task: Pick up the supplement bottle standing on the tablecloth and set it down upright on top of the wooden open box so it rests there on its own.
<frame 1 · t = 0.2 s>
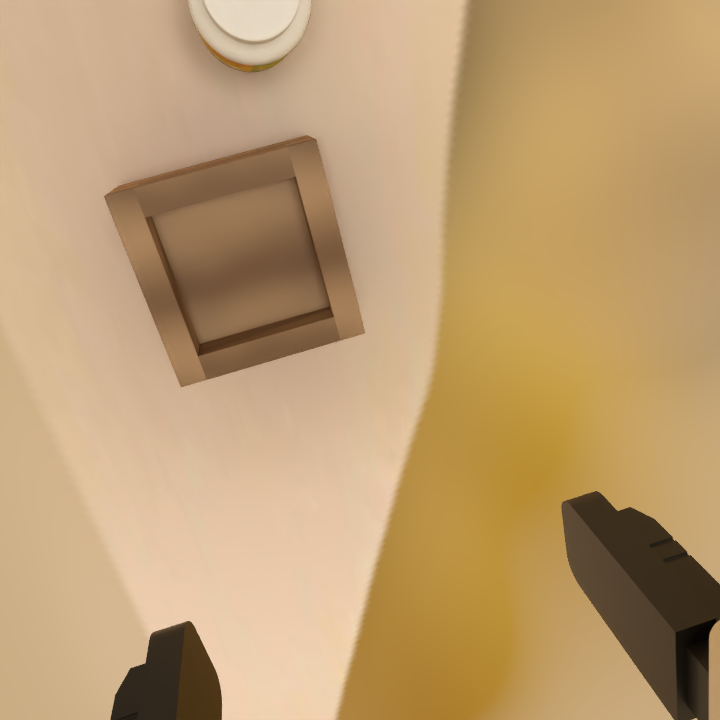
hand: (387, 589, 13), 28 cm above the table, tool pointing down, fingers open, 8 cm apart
supplement bottle: (247, 17, 33), on the table
wooden open box: (244, 252, 38), on the table
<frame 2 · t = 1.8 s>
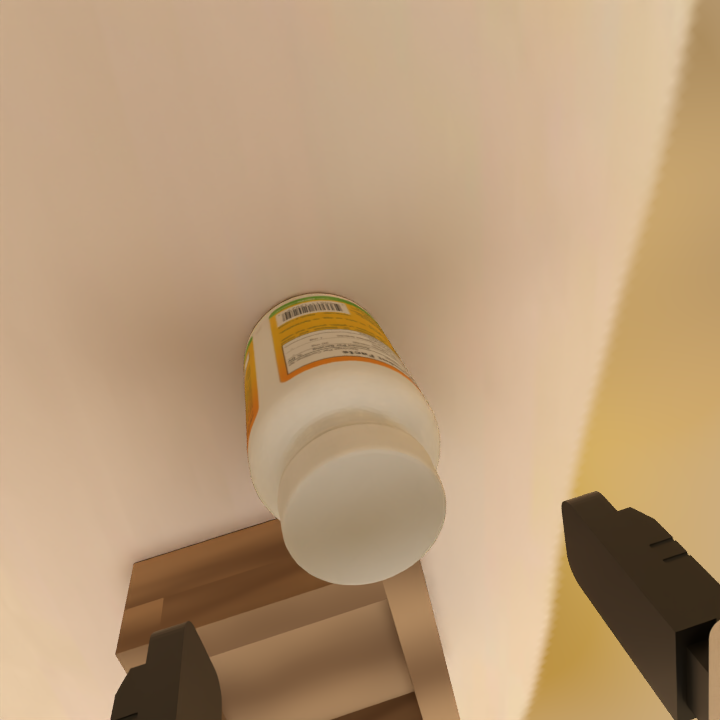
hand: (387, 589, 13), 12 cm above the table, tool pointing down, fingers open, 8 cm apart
supplement bottle: (315, 356, 23), on the table
wooden open box: (299, 614, 28), on the table
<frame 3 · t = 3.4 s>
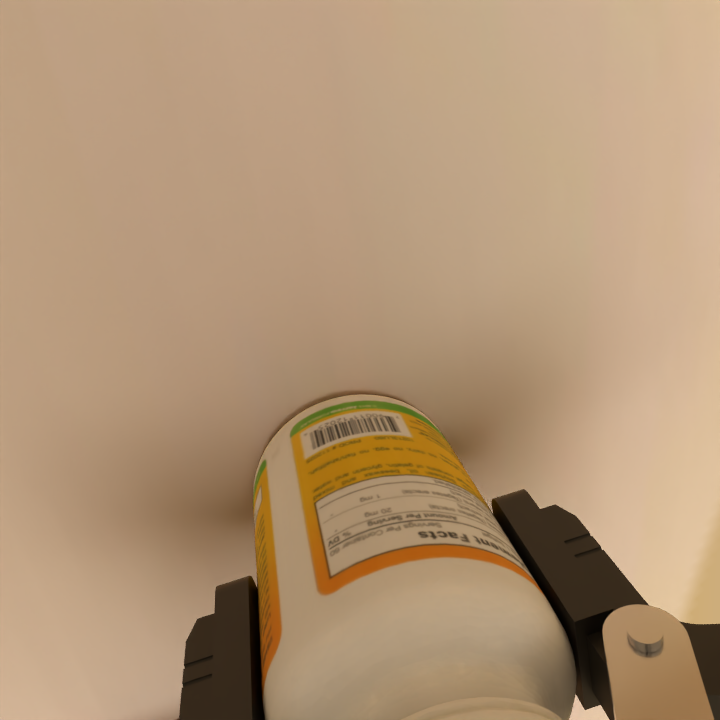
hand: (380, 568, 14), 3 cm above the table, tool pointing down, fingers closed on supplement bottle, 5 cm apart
supplement bottle: (352, 474, 17), on the table, touching gripper
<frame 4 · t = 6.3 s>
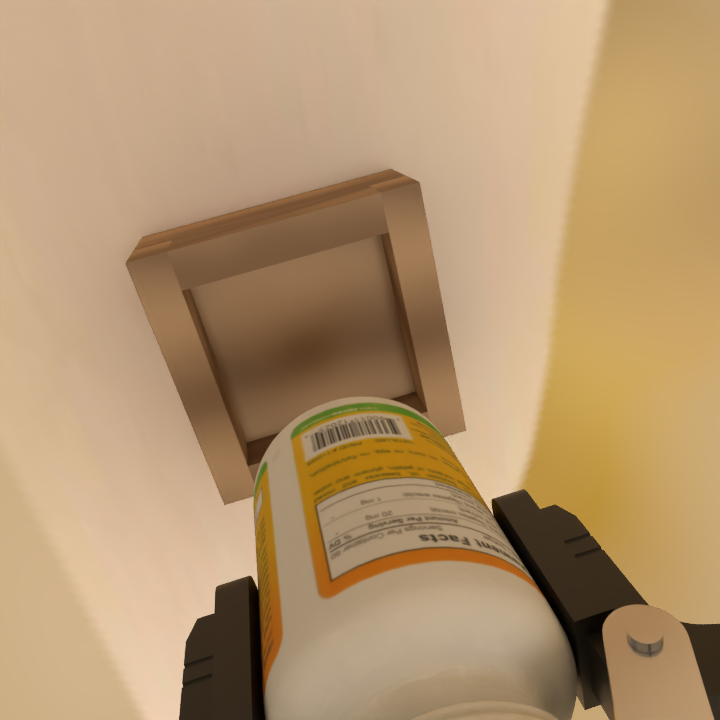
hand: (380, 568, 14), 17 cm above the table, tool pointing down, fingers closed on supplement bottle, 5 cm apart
supplement bottle: (352, 476, 17), point 13 cm above the table, touching gripper
wooden open box: (303, 319, 29), on the table
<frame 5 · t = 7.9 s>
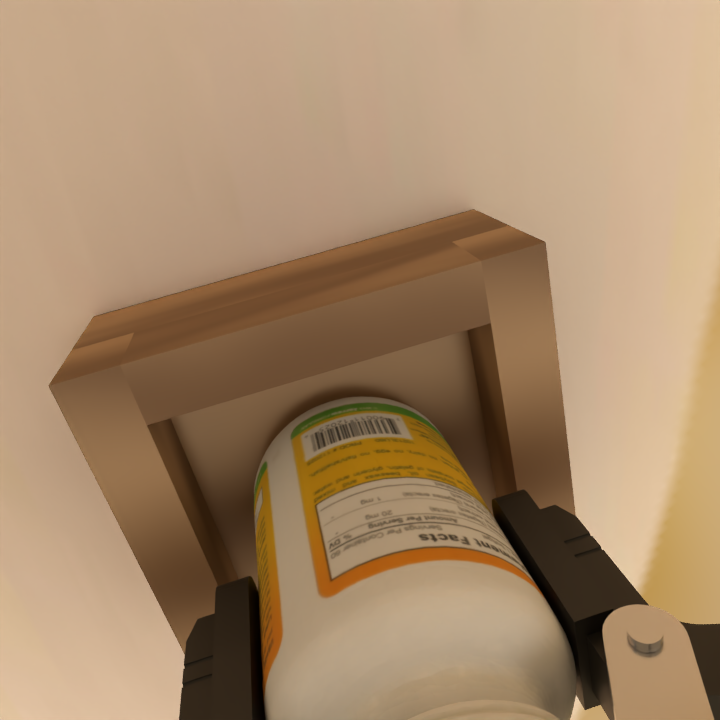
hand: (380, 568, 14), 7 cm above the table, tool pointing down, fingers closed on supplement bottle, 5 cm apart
supplement bottle: (352, 476, 17), point 3 cm above the table, touching gripper
wooden open box: (336, 426, 20), on the table
when the fingers open (7 cm above the table, at t = 9.0 s): supplement bottle stays where it is, resting on wooden open box.
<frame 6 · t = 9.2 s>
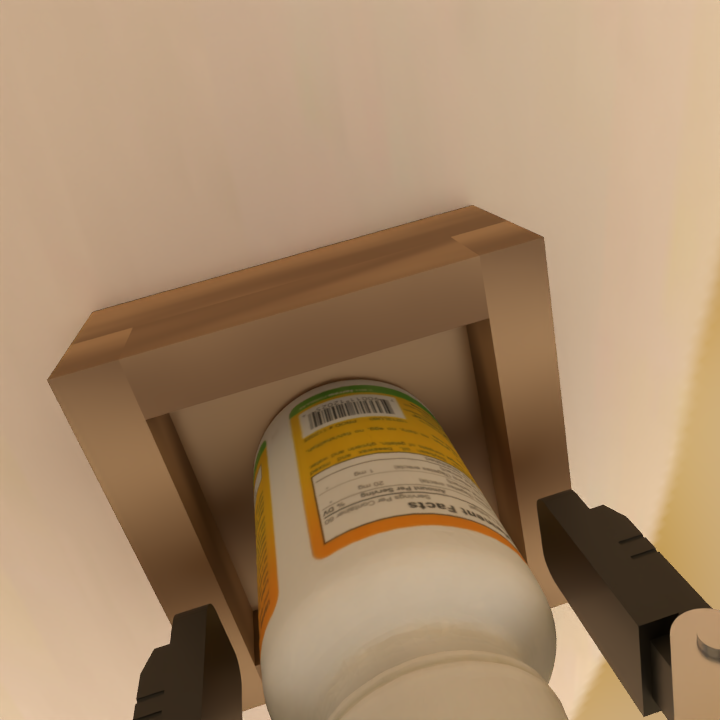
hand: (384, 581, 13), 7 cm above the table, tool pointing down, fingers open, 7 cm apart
supplement bottle: (349, 458, 17), point 2 cm above the table, touching wooden open box
wooden open box: (335, 422, 20), on the table
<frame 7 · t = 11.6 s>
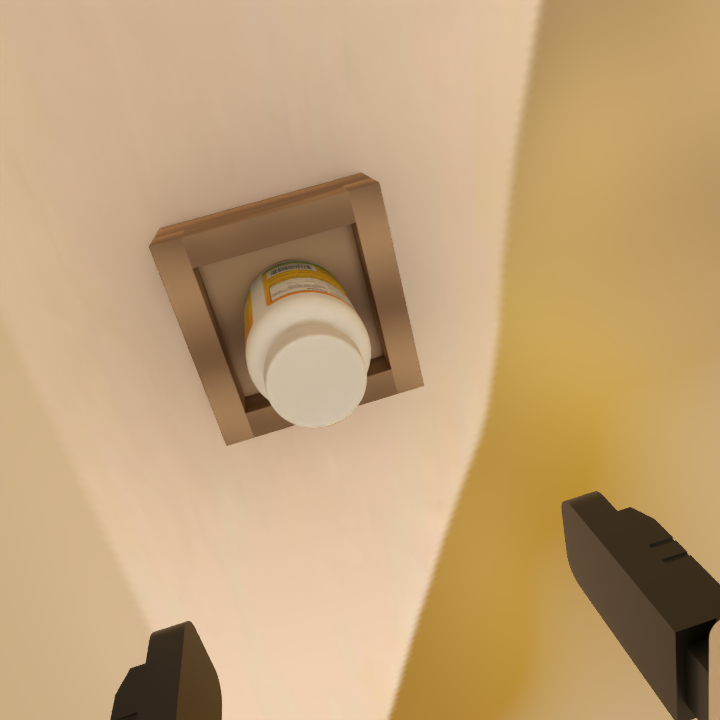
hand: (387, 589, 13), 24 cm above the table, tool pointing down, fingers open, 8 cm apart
supplement bottle: (295, 307, 33), point 2 cm above the table, touching wooden open box
wooden open box: (291, 296, 35), on the table
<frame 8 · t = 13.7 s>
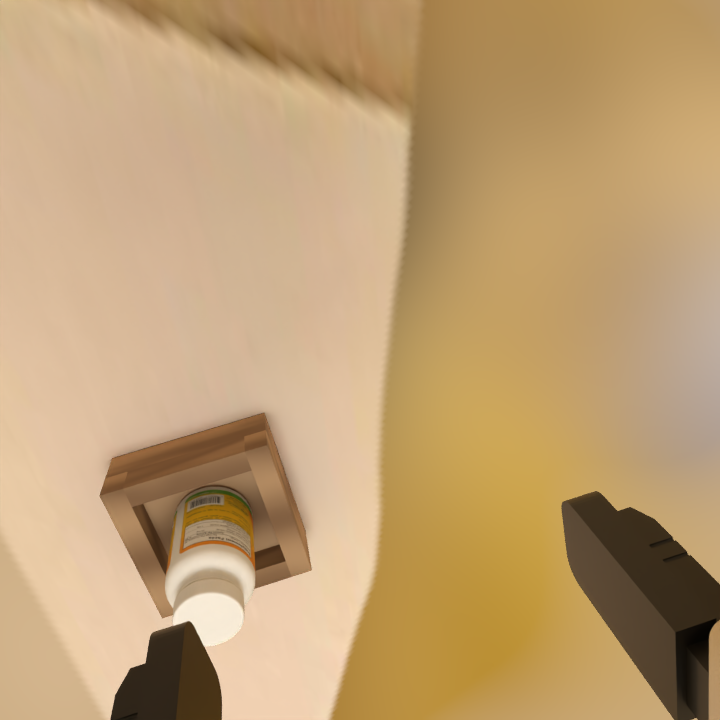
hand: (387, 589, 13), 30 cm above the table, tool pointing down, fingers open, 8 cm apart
supplement bottle: (214, 514, 44), point 2 cm above the table, touching wooden open box
wooden open box: (214, 496, 46), on the table
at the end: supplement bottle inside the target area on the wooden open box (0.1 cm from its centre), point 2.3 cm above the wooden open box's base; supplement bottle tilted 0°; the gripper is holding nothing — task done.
